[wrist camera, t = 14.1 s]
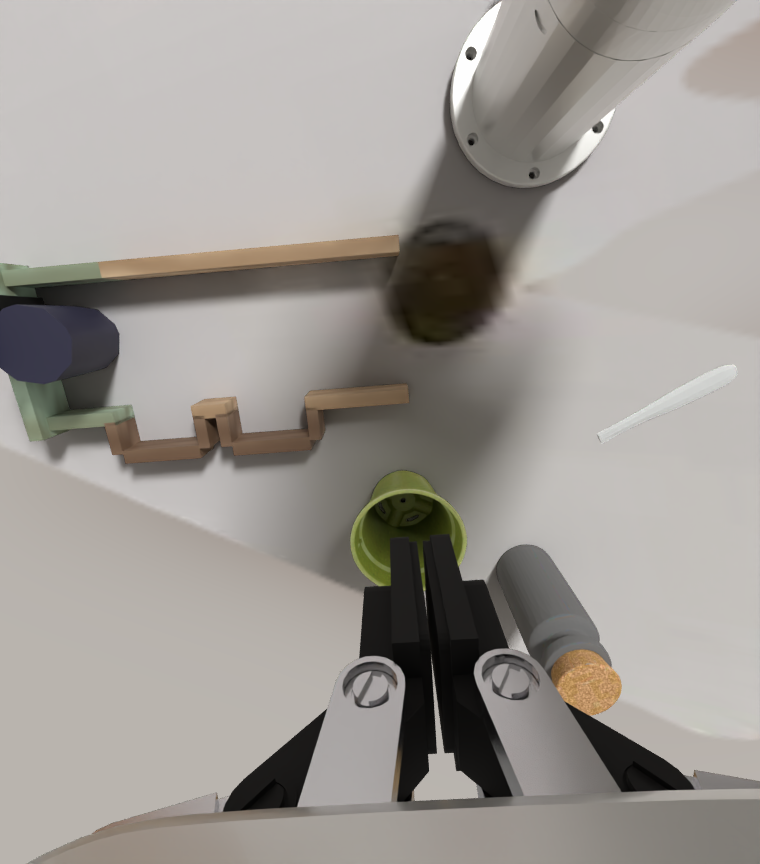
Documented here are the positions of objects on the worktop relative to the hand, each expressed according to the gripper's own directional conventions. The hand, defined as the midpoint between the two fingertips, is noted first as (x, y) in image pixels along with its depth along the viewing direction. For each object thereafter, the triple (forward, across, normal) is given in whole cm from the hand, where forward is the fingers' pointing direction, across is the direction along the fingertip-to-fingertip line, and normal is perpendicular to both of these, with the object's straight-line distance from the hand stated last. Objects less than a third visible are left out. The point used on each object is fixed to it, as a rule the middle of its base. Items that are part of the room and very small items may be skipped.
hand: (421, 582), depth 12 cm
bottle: (+29, -12, +20) cm, 37 cm away
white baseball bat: (+30, -19, +7) cm, 36 cm away
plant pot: (+29, 0, +11) cm, 31 cm away
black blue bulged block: (+29, +27, -8) cm, 41 cm away
